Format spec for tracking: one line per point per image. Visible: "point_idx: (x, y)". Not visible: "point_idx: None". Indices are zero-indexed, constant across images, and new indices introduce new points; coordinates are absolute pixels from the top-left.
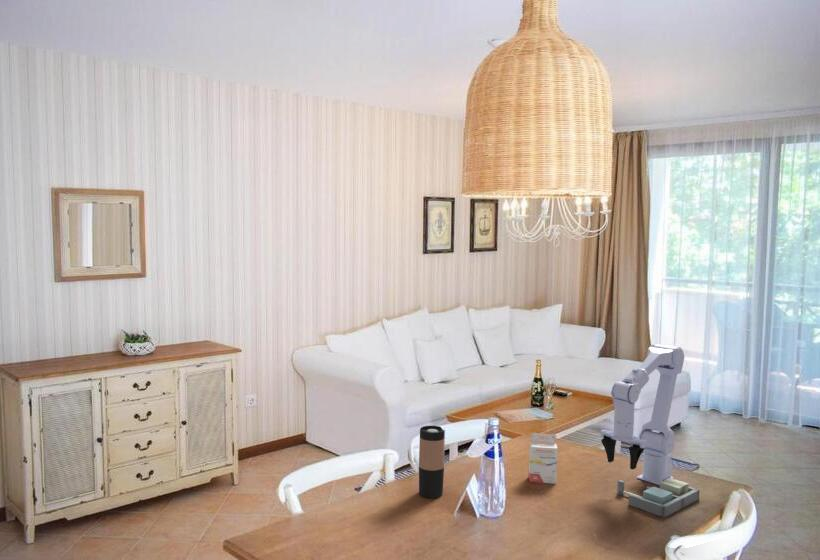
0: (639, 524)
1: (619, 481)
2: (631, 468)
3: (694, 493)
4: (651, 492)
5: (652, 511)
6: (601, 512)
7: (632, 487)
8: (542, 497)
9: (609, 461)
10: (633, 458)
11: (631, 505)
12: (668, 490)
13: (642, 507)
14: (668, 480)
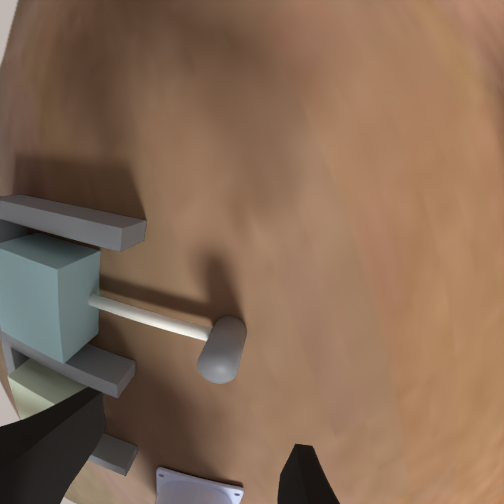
0: (62, 65)
1: (223, 359)
2: (88, 390)
3: None
4: (32, 279)
5: (46, 201)
6: (218, 42)
7: (220, 422)
8: (491, 62)
9: (299, 449)
10: (11, 424)
11: (130, 217)
12: (49, 382)
13: (79, 208)
14: None
